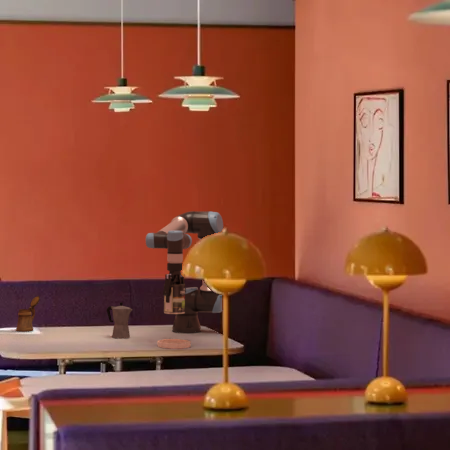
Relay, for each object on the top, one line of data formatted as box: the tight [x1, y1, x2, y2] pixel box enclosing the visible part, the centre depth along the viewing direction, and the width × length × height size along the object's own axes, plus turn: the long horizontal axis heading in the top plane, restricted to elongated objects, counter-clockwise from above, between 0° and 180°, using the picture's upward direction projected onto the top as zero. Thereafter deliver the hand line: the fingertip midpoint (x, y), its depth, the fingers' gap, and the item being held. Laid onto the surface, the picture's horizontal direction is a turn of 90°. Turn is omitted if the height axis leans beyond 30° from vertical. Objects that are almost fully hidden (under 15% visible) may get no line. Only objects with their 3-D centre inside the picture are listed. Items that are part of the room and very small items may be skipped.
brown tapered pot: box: [15, 295, 40, 333], centre depth 634 cm, size 9×14×18 cm, turn 134°
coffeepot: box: [106, 301, 133, 340], centre depth 611 cm, size 15×9×18 cm, turn 61°
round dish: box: [157, 338, 192, 350], centre depth 581 cm, size 16×16×2 cm
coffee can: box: [163, 283, 186, 315], centre depth 580 cm, size 10×10×14 cm
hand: (174, 308), depth 580 cm, fingers closed on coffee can, 10 cm apart
